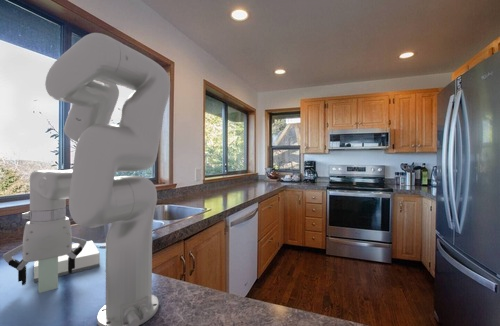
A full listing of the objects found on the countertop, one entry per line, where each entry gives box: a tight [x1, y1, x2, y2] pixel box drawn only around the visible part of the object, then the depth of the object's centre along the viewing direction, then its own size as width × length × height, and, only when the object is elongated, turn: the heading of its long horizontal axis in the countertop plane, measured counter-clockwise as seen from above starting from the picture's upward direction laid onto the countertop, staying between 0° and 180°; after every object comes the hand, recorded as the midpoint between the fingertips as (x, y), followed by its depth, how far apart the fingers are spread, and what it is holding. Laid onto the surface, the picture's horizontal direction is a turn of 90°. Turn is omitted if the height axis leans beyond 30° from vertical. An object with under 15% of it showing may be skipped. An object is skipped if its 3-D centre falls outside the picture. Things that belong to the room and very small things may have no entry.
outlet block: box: [33, 240, 101, 283], centre depth 79 cm, size 16×16×4 cm
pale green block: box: [37, 257, 59, 294], centre depth 65 cm, size 4×4×10 cm
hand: (48, 277), depth 65 cm, fingers open, 9 cm apart
